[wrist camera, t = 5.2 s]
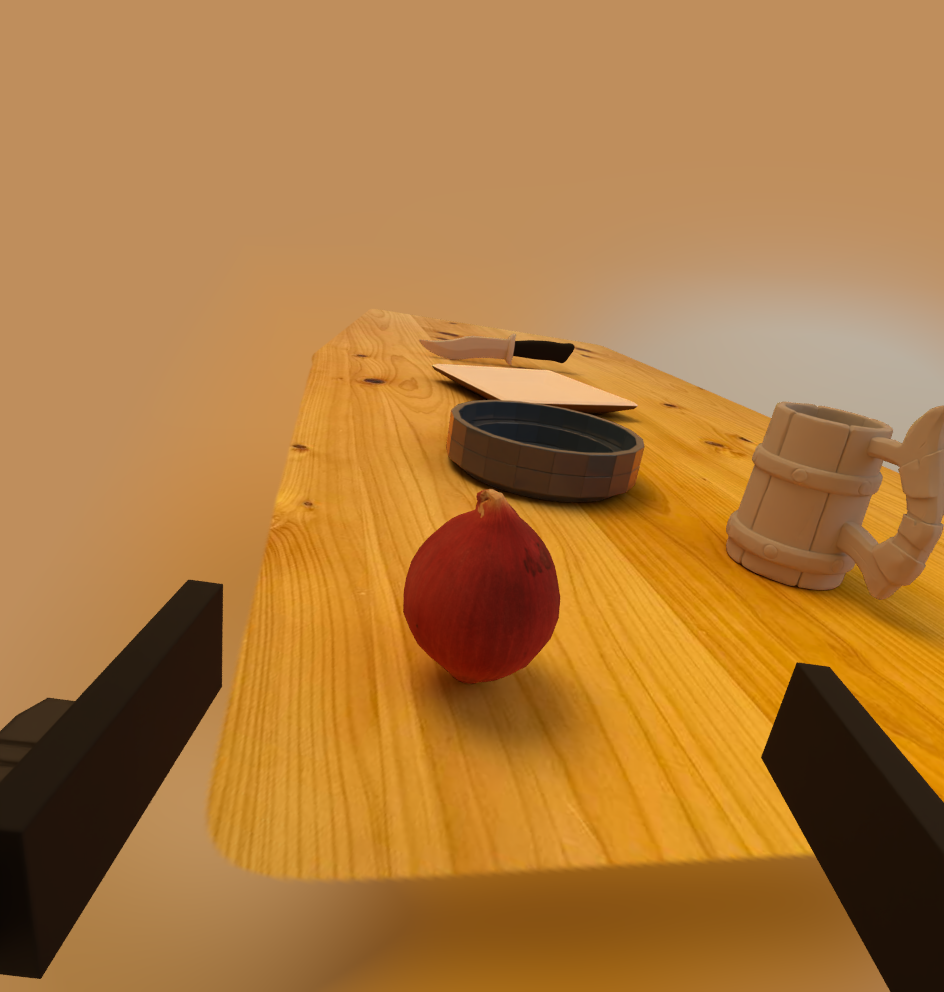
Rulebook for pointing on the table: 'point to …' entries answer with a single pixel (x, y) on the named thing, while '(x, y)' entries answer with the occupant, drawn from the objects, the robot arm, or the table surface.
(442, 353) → the knife
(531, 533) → the onion
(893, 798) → the robot arm
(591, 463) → the bowl
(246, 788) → the table surface
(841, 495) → the mug
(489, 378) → the plate
